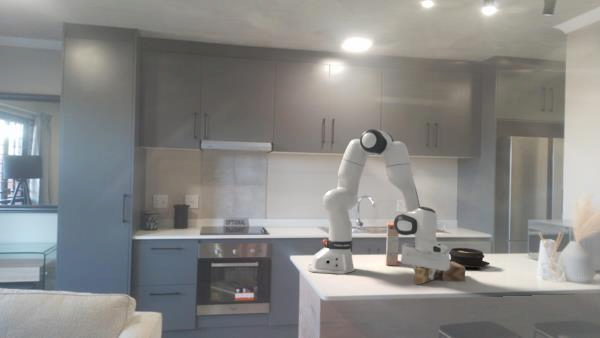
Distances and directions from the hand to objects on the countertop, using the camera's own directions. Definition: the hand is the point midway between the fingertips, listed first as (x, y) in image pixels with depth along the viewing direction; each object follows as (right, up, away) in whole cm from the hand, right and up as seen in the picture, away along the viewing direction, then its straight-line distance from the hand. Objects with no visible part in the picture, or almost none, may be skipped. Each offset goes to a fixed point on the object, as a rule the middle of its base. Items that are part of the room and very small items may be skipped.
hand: (424, 277), depth 175 cm
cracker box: (-5, -3, +40) cm, 40 cm away
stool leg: (+2, -2, +3) cm, 4 cm away
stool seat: (+12, -3, +12) cm, 17 cm away
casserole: (+32, -4, +36) cm, 48 cm away
